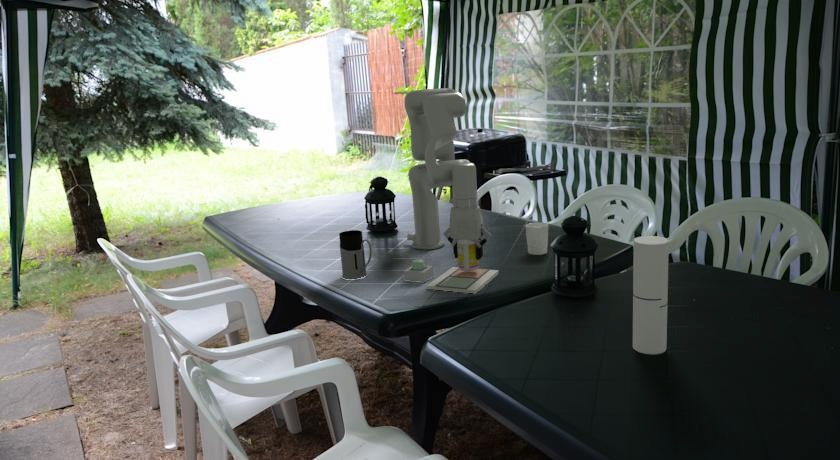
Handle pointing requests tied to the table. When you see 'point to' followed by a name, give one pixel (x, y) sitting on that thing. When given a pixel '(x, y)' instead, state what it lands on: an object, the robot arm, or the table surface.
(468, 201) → the robot arm
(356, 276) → the grey and black mug
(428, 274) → the button box
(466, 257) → the supplement bottle
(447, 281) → the picture board
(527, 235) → the white cup
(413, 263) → the button
